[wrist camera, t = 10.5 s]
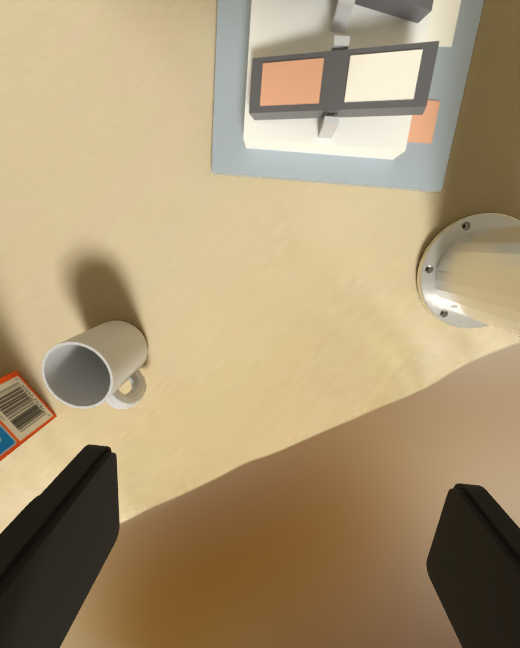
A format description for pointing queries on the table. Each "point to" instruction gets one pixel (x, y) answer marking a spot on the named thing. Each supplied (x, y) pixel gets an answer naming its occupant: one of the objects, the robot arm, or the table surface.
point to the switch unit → (331, 132)
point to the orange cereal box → (19, 413)
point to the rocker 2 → (400, 8)
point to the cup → (97, 367)
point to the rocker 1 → (343, 82)
